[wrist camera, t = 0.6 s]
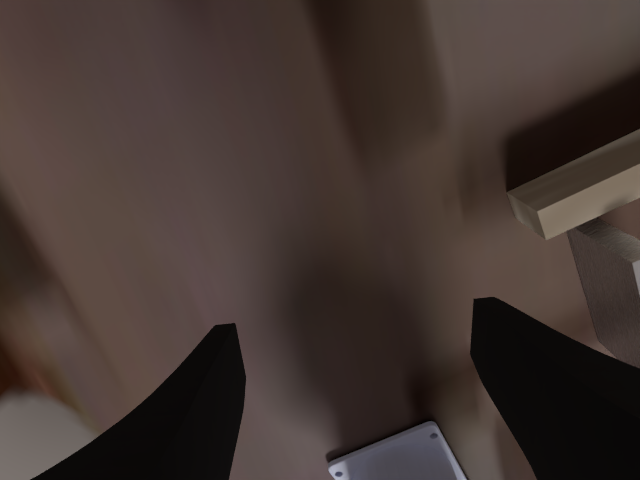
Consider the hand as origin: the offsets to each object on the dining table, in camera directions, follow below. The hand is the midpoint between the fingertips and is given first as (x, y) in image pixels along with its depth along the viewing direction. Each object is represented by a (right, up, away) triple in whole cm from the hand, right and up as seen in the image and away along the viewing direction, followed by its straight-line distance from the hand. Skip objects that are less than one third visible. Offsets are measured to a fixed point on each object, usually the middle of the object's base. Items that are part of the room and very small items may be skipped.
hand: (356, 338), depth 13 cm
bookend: (+15, +1, +12) cm, 19 cm away
